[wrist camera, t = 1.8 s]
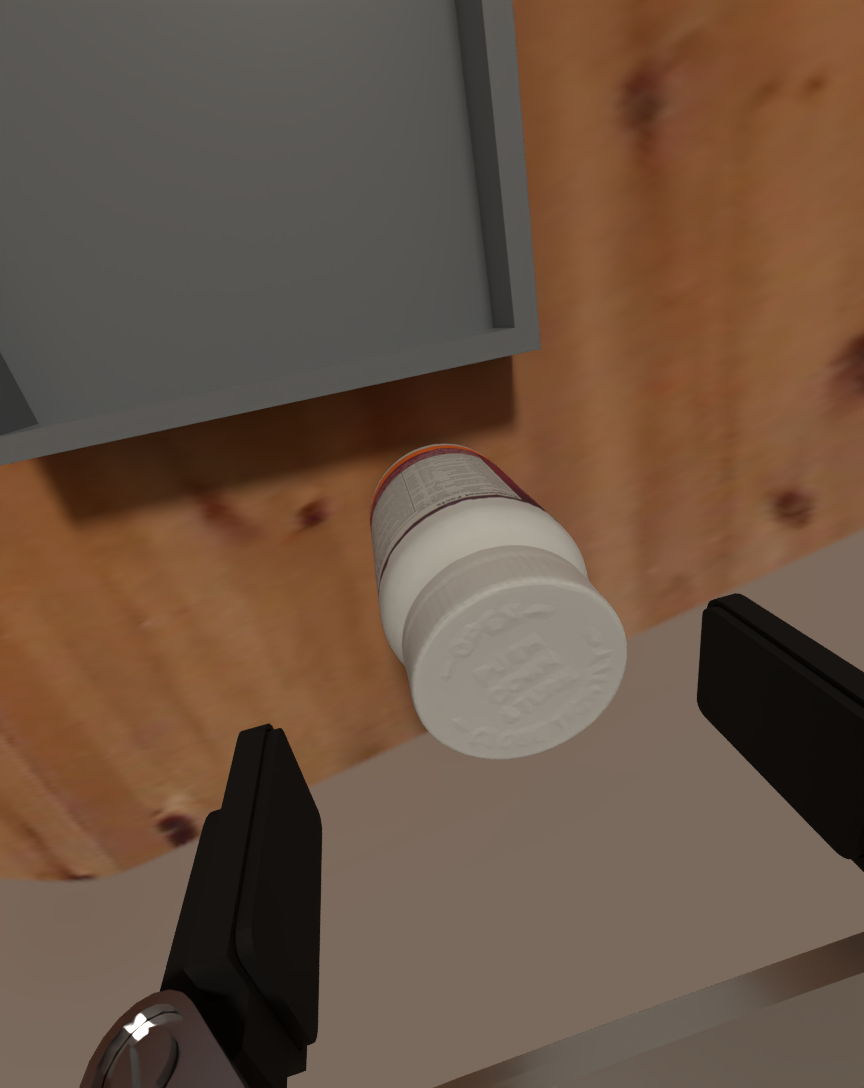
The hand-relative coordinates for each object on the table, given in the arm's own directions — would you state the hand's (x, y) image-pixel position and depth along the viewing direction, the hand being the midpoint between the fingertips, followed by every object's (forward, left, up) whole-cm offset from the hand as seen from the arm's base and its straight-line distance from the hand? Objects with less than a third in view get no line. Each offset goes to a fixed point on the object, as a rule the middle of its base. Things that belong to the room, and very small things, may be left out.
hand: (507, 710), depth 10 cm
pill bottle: (-1, 0, -12) cm, 12 cm away
